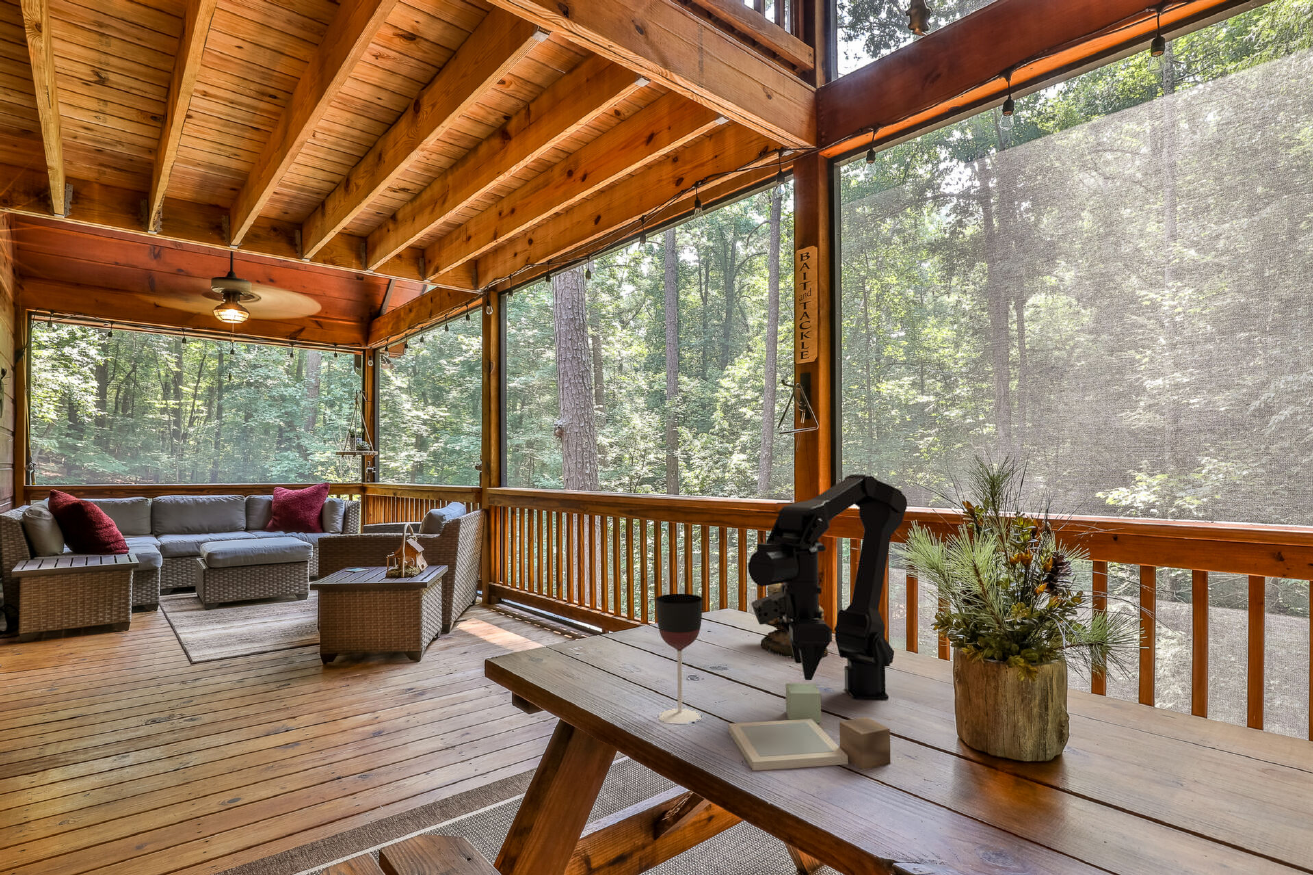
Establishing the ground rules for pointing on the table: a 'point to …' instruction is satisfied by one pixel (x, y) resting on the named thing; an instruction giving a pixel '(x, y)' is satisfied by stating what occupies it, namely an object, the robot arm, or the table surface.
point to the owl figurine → (780, 632)
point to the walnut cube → (865, 742)
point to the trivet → (786, 744)
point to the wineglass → (679, 639)
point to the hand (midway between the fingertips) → (803, 671)
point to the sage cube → (803, 702)
